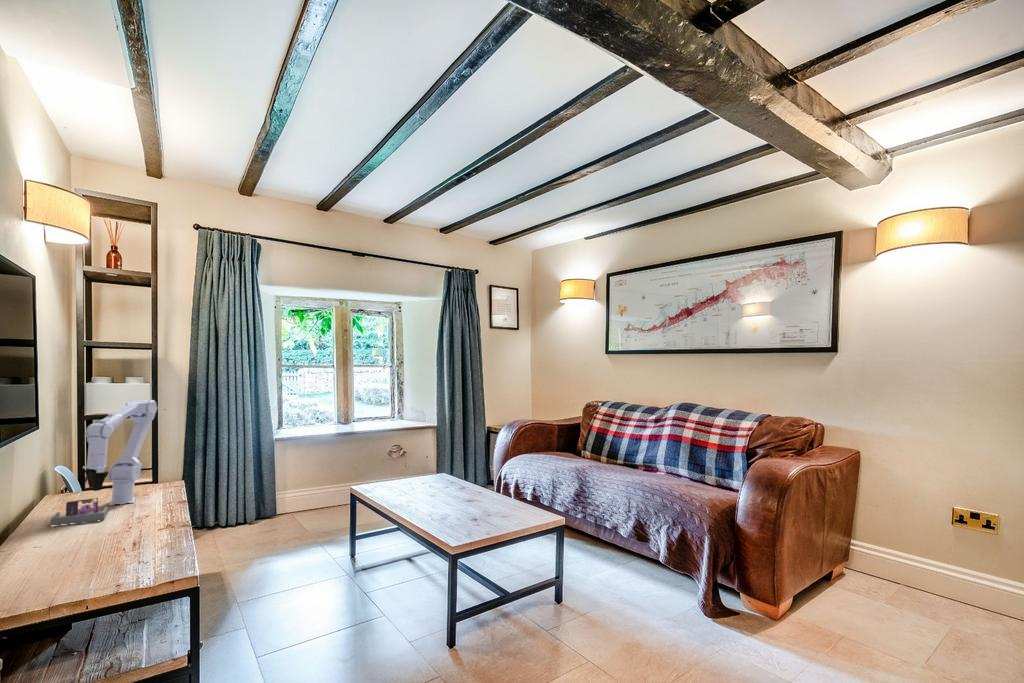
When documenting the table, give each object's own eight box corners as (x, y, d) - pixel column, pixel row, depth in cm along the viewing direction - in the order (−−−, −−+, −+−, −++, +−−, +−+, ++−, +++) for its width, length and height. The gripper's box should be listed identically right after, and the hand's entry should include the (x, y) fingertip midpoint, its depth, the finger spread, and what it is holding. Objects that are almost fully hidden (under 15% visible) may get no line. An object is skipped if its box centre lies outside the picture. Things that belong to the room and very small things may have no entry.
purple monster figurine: (66, 501, 177) (98, 497, 184) (64, 504, 180) (95, 499, 187) (65, 520, 175) (97, 515, 182) (64, 522, 178) (95, 517, 185)
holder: (56, 520, 175) (56, 512, 175) (107, 514, 183) (108, 506, 183) (50, 527, 168) (50, 518, 168) (103, 520, 176) (104, 512, 176)
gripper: (80, 452, 188) (77, 487, 187) (87, 457, 178) (85, 493, 177) (103, 450, 193) (100, 484, 192) (111, 455, 184) (109, 490, 183)
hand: (94, 488), depth 185 cm, fingers open, 7 cm apart
